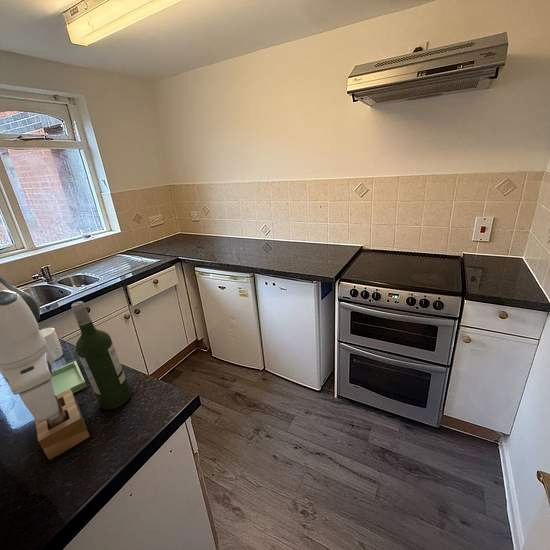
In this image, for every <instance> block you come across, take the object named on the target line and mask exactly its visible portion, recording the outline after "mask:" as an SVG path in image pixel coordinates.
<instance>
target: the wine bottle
mask: <svg viewBox="0 0 550 550" xmlns="http://www.w3.org/2000/svg"><path fill="white" fill-rule="evenodd" d="M71 310H72V312H73V314H74V317H75V320H76V322H77V325H78V327H79V330H80V336H79V338H78V339H77V341H76V344H75V352H76V354H77V356H78V358H79V360H80V363H81V365H82V367H83V369H84V372H85V374H86V376H87V378H88V381H89V383H90V385H91V388H92V390H93V392H94V394H95V397H96V398H97V401H98V404H99V406H100V407H101V408H102V409H103V410H113V409H114V410H115V409H117V408H119V407H121V406H122V405H124V404H125V403H127V402H128V400H129V399H130V398H131V395H132V389H131V387H130V384H129V381H128V379H127V377H126V374H125V371H124V368H123V366H122V364H121V361H120V358H119V355H118V353H117V350H116V348H115V345H114V343H113V340H112V338H111V335H110V334H109V333H108V332H106V331H104V330H101V329H97V328H96V326H95V325H94V323H93V321H92V319H91V316H90V315H89V312H88V310H87V307H86V304H85V302H84V301H82V300H80V301H76V302H73V303H72V304H71Z"/></svg>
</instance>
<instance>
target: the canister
mask: <svg viewBox="0 0 550 550" xmlns="http://www.w3.org/2000/svg"><path fill="white" fill-rule="evenodd" d="M55 397H56V400H57V404H58V407H59V413H58V414H59V416H58V417H57V418H55V419H53V420H49V419H47V421H48V423H49V425H50V427H51V428H54V427H55V426H57V425H59V424H61V423H63V422H65V421H67V420H68V418H67V416H66V414H65V412H64V410H63V408H62V406H61V404H60V402H59V400H58V398H57V396H56V395H55Z"/></svg>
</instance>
